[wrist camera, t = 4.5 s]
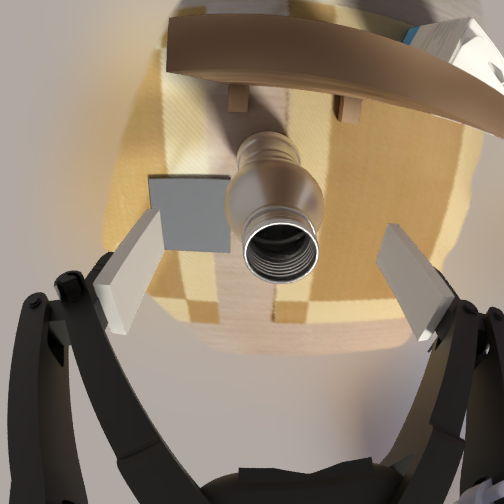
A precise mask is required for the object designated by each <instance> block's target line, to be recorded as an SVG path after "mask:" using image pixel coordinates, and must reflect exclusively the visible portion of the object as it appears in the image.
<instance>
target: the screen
mask: <svg viewBox="0 0 504 504" xmlns="http://www.w3.org/2000/svg"><path fill="white" fill-rule="evenodd" d="M166 72H169V73H176V74H181V75H187V76H192V77H197V78H202V79H207V80H212V81H216V82H220V83H225V84H229V88H228V112H247V111H248V92H249V85H252V86H269V87H281V88H291V89H300V90H308V91H316V92H322V93H329V94H335V95H340V105H339V114H338V121H340V122H343V123H349V124H355V125H359V119H360V111H361V102H362V100H368V101H374V102H380V103H385V104H391V105H396V106H400V107H405V108H409V109H414V110H418V111H422V112H426V113H429V114H433V115H437V116H440V117H444V118H447V119H450V120H453V121H457V122H460V123H463V124H466V125H469V126H471V127H474V128H477V129H480V130H482V131H485V132H488V133H490V134H493V135H495V136H497V137H500V138H502V139H504V95H503V94H502V93H500V92H499V91H497V90H496V89H494V88H493V87H491V86H489V85H488V84H486V83H485V82H483V81H481V80H480V79H478V78H476V77H474V76H473V75H471V74H469V73H467V72H466V71H464V70H462V69H460V68H458V67H456V66H454V65H452V64H450V63H448V62H446V61H444V60H442V59H440V58H438V57H435V56H433V55H431V54H429V53H426V52H424V51H422V50H419V49H417V48H414V47H412V46H409V45H406V44H404V43H401V42H398V41H395V40H392V39H389V38H386V37H383V36H380V35H377V34H373V33H370V32H366V31H363V30H359V29H355V28H351V27H347V26H342V25H338V24H333V23H328V22H322V21H317V20H310V19H304V18H296V17H287V16H277V15H263V14H205V15H191V16H181V17H172V18H169V26H168V41H167V63H166Z"/></svg>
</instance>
